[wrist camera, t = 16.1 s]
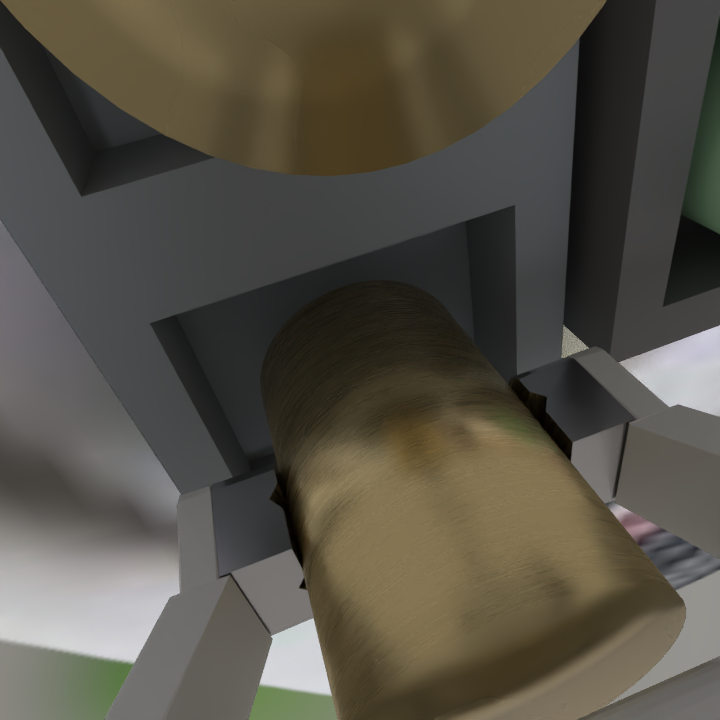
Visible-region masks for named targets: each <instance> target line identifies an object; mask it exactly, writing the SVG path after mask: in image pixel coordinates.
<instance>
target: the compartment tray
mask: <svg viewBox="0 0 720 720" xmlns="http://www.w3.org/2000/svg"><path fill="white" fill-rule="evenodd" d="M579 39H580V37H579ZM579 39H578V40H577V41H576V43H575V44H574V45H573V47H572V48H571V49H570V50H569V51H568V52H567V53H566V54H565V55H564V56H563V57H562V59H561V60H560V61H559V62H558V63H557V64H556V65H555V66H554V67H553V68H552V69H551V71H550V72H549V73H548V74H547V75H546V76H545V77H544V78H543V79H542V80H541V81H540V82H539V83H538V84H537V85H535V86H534V87H533V88H532V89H531V90H530V91H529V92H527V93H526V94H525V95H524V96H523V97H522V98H521V99H520V100H518V101H517V102H516V103H515V104H514V105H513V106H512V107H511V108H509V109H508V110H506V111H505V112H503V113H502V114H501V115H499V116H498V117H496V118H495V119H493V120H492V121H491V122H489V123H488V124H486V125H485V126H484V127H482V128H481V129H479V130H478V131H476V132H474V133H472V134H471V135H469V136H467V137H465V138H463V139H461V140H460V141H458V142H456V143H454V144H452V145H450V146H448V147H447V148H445V149H443V150H440V151H438V152H435V153H432V154H430V155H427V156H425V157H422V158H420V159H417V160H414V161H412V162H409V163H406V164H402V165H398V166H394V167H390V168H386V169H382V170H378V171H373V172H368V173H358V174H349V175H339V176H310V175H290V174H284V173H278V172H272V171H266V170H260V169H254V168H250V167H246V166H243V165H240V164H237V163H233V162H230V161H227V160H223V159H220V158H217V157H214V156H210V155H208V154H206V153H203V152H201V151H199V150H197V149H194V148H192V147H190V146H188V145H185V144H183V143H181V142H179V141H176V140H174V139H172V138H170V137H167V136H165V135H164V134H162V133H160V132H158V131H157V130H155V129H153V128H152V127H150V126H148V125H147V124H145V123H143V122H142V121H140V120H138V119H137V118H135V117H133V116H132V115H130V114H128V113H127V112H125V111H123V110H122V109H120V108H119V107H117V106H116V105H115V104H113V103H112V102H111V101H109V100H108V99H107V98H105V97H104V96H103V95H101V94H100V93H99V92H97V91H96V90H95V89H93V88H92V87H91V86H89V85H88V84H87V83H85V82H84V81H83V80H81V79H80V78H79V77H78V76H76V75H75V74H74V73H72V72H71V71H70V70H69V69H68V68H67V67H66V66H65V65H64V64H63V63H62V62H61V61H60V60H58V59H57V58H56V57H55V56H54V55H53V54H52V53H51V52H50V51H49V50H48V49H47V48H46V47H45V46H43V45H42V44H41V43H40V42H39V41H38V40H37V39H36V38H35V37H34V36H33V35H32V34H31V33H30V32H28V31H27V30H26V29H25V28H24V27H23V26H22V24H21V23H20V22H19V21H18V20H17V19H16V18H15V16H14V15H13V14H12V13H11V12H10V11H9V10H8V9H7V7H6V6H5V5H4V4H3V3H2V2H1V1H0V219H1V221H2V222H3V224H4V225H5V227H6V228H7V230H8V232H9V233H10V235H11V236H12V238H13V239H14V241H15V242H16V244H17V245H18V247H19V248H20V250H21V251H22V253H23V254H24V256H25V257H26V259H27V260H28V262H29V263H30V265H31V267H32V268H33V270H34V271H35V273H36V274H37V276H38V277H39V279H40V280H41V282H42V283H43V285H44V286H45V288H46V289H47V291H48V292H49V294H50V295H51V297H52V298H53V300H54V301H55V303H56V305H57V306H58V308H59V309H60V311H61V312H62V314H63V315H64V317H65V318H66V320H67V321H68V323H69V324H70V326H71V327H72V329H73V330H74V332H75V333H76V335H77V336H78V338H79V339H80V341H81V343H82V344H83V346H84V347H85V349H86V350H87V352H88V353H89V355H90V356H91V358H92V359H93V361H94V362H95V364H96V365H97V367H98V368H99V370H100V371H101V373H102V374H103V376H104V378H105V379H106V381H107V382H108V384H109V385H110V387H111V388H112V390H113V391H114V393H115V394H116V396H117V397H118V399H119V400H120V402H121V403H122V405H123V406H124V408H125V409H126V411H127V412H128V414H129V416H130V417H131V419H132V420H133V422H134V423H135V425H136V426H137V428H138V429H139V431H140V432H141V434H142V435H143V437H144V438H145V440H146V441H147V443H148V444H149V446H150V447H151V449H152V450H153V452H154V454H155V455H156V457H157V458H158V460H159V461H160V463H161V464H162V466H163V467H164V469H165V470H166V472H167V473H168V475H169V476H170V478H171V479H172V481H173V482H174V484H175V485H176V487H177V489H178V490H179V492H180V493H181V495H183V494H186V493H189V492H192V491H195V490H198V489H201V488H204V487H207V486H210V485H212V484H214V483H217V482H220V481H223V480H226V479H229V478H232V477H235V476H238V475H241V474H244V473H247V472H250V471H253V470H256V469H259V468H262V467H265V466H268V465H271V464H276V466H277V468H278V465H277V461H276V456H275V452H274V448H273V444H272V439H271V435H270V431H269V427H268V423H267V418H266V414H265V410H264V406H263V401H262V397H261V390H260V374H261V369H262V364H263V361H264V358H265V355H266V352H267V350H268V348H269V346H270V344H271V342H272V341H273V339H274V338H275V336H276V335H277V333H278V332H279V330H280V329H281V328H282V327H283V326H284V324H285V323H286V322H287V321H288V320H289V319H290V318H291V317H292V316H293V315H294V314H296V313H297V312H298V311H299V310H300V309H301V308H303V307H304V306H306V305H307V304H308V303H310V302H311V301H313V300H314V299H316V298H318V297H320V296H322V295H324V294H326V293H327V292H330V291H332V290H335V289H338V288H340V287H343V286H347V285H350V284H354V283H359V282H365V281H378V280H387V281H397V282H402V283H406V284H410V285H413V286H416V287H418V288H420V289H423V290H425V291H426V292H428V293H430V294H431V295H433V296H434V297H435V298H436V299H438V300H439V301H440V302H441V303H442V304H443V305H444V307H445V308H446V309H447V310H448V311H449V313H450V314H451V315H452V316H453V318H454V319H455V320H456V321H457V322H458V324H459V325H460V326H461V327H462V329H463V330H464V331H465V332H466V334H467V335H468V336H469V337H470V338H471V340H472V341H473V342H474V343H475V345H476V346H477V347H478V348H479V350H480V351H481V352H482V353H483V354H484V356H485V357H486V358H487V359H488V361H489V362H490V363H491V364H492V366H493V367H494V368H495V369H496V370H497V372H498V373H499V374H500V375H501V377H502V378H503V379H504V380H505V382H506V383H507V384H508V383H509V381H510V378H511V377H513V376H516V375H519V374H521V373H524V372H527V371H529V370H532V369H535V368H537V367H540V366H543V365H545V364H548V363H551V362H553V361H556V360H559V359H561V355H562V337H563V320H564V302H565V285H566V267H567V249H568V232H569V214H570V197H571V179H572V162H573V144H574V126H575V109H576V91H577V74H578V56H579ZM278 470H279V469H278Z"/></svg>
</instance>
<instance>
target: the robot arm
mask: <svg viewBox="0 0 720 720" xmlns="http://www.w3.org/2000/svg"><path fill="white" fill-rule="evenodd" d="M508 385H509V386H510V388H511V389H512V390H513V391H514V393H515V394H516V395H517V396H518V398H519V399H520V400H521V401H522V402H523V404H524V405H525V406H526V407H527V409H528V410H529V411H530V412H531V414H532V415H533V416H534V417H535V418H536V420H537V421H538V422H539V423H540V425H541V426H542V427H543V428H544V430H545V431H546V432H547V433H548V434H549V436H550V437H551V438H552V439H553V441H554V442H555V443H556V444H557V446H558V447H559V448H560V449H561V450H562V452H563V453H564V454H565V455H566V457H567V458H568V459H569V460H570V462H571V463H572V464H573V465H574V466H575V468H576V469H577V470H578V471H579V473H580V474H581V475H582V476H583V478H584V479H585V480H586V481H587V482H588V484H589V485H590V486H591V487H592V489H593V490H594V491H595V492H596V494H597V495H598V496H599V497H600V498H601V500H602V501H603V502H604V503H607V502H610V501H613V500H615V503H617V504H618V505H620V506H622V507H624V508H626V509H628V510H630V511H631V512H633V513H635V514H637V515H639V516H641V517H643V518H644V519H646V520H648V521H650V522H652V523H654V524H655V525H657V526H659V527H661V528H663V529H665V530H667V531H668V532H670V533H672V534H674V535H676V536H678V537H680V538H681V539H683V540H685V541H687V542H689V543H691V544H693V545H694V546H696V547H698V548H700V549H702V550H704V551H706V552H707V553H709V554H711V555H713V556H715V557H717V558H719V559H720V417H718V416H715V415H711V414H708V413H705V412H701V411H698V410H695V409H692V408H688V407H685V406H682V405H675V406H672V407H668V406H667V405H666V404H665V403H664V402H663V401H662V400H660V399H659V398H658V397H657V396H656V395H655V394H654V393H652V392H651V391H650V390H649V389H648V388H647V387H646V386H644V385H643V384H642V383H641V382H640V381H639V380H638V379H636V378H635V377H634V376H633V375H632V374H631V373H630V372H628V371H627V370H626V369H625V368H624V367H623V366H622V365H620V364H619V363H618V362H617V361H616V360H615V359H614V358H612V357H611V356H610V355H609V354H608V353H607V352H606V351H604V350H603V349H602V348H599V347H596V346H595V347H592V348H589V349H586V350H584V351H581V352H578V353H576V354H573V355H570V356H567V357H566V358H561V359H559V360H556V361H553V362H551V363H548V364H545V365H543V366H540V367H537V368H535V369H532V370H529V371H527V372H524V373H521V374H519V375H516V376H513V377H511V378H510V381H509V383H508ZM177 522H178V551H179V581H180V594H177V595H175V596H172V597H170V598H169V600H168V602H167V604H166V606H165V607H164V609H163V611H162V613H161V615H160V617H159V619H158V620H157V622H156V624H155V626H154V628H153V630H152V632H151V633H150V635H149V637H148V639H147V641H146V643H145V645H144V646H143V648H142V650H141V652H140V654H139V656H138V658H137V659H136V661H135V663H134V665H133V667H132V669H131V671H130V672H129V674H128V676H127V678H126V680H125V682H124V684H123V686H122V687H121V689H120V691H119V693H118V695H117V697H116V698H115V700H114V702H113V704H112V706H111V708H110V710H109V711H108V713H107V716H106V717H105V719H104V720H248V719H249V716H250V713H251V709H252V706H253V703H254V699H255V696H256V693H257V689H258V686H259V683H260V679H261V676H262V673H263V669H264V666H265V663H266V659H267V656H268V653H269V649H270V646H271V643H272V638H271V636H272V635H274V634H277V633H279V632H281V631H284V630H286V629H288V628H291V627H293V626H295V625H298V624H300V623H302V622H305V621H307V620H309V619H312V618H314V617H313V613H312V609H311V605H310V600H309V596H308V592H307V588H306V583H305V579H304V572H303V567H302V563H301V559H300V554H299V550H298V546H297V542H296V537H295V533H294V529H293V527H292V524H291V520H290V516H289V509H288V504H287V499H286V495H285V491H284V487H283V483H282V479H281V475H280V472H279V470H278V468H277V466H276V464H271V465H268V466H265V467H262V468H259V469H256V470H253V471H250V472H247V473H244V474H241V475H238V476H235V477H232V478H229V479H226V480H223V481H220V482H217V483H214V484H212V485H210V486H207V487H204V488H201V489H198V490H195V491H192V492H189V493H186V494H183V495H180V497H179V500H178V504H177ZM576 720H720V656H719V657H717V658H715V659H712V660H710V661H708V662H706V663H704V664H701V665H699V666H697V667H694V668H692V669H690V670H687V671H685V672H683V673H681V674H678V675H676V676H674V677H672V678H669V679H667V680H665V681H663V682H660V683H658V684H656V685H653V686H651V687H649V688H647V689H644V690H642V691H640V692H638V693H635V694H633V695H631V696H628V697H626V698H624V699H622V700H619V701H617V702H615V703H613V704H610V705H608V706H606V707H604V708H601V709H599V710H597V711H594V712H592V713H590V714H588V715H585V716H583V717H581V718H579V719H576Z"/></svg>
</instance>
